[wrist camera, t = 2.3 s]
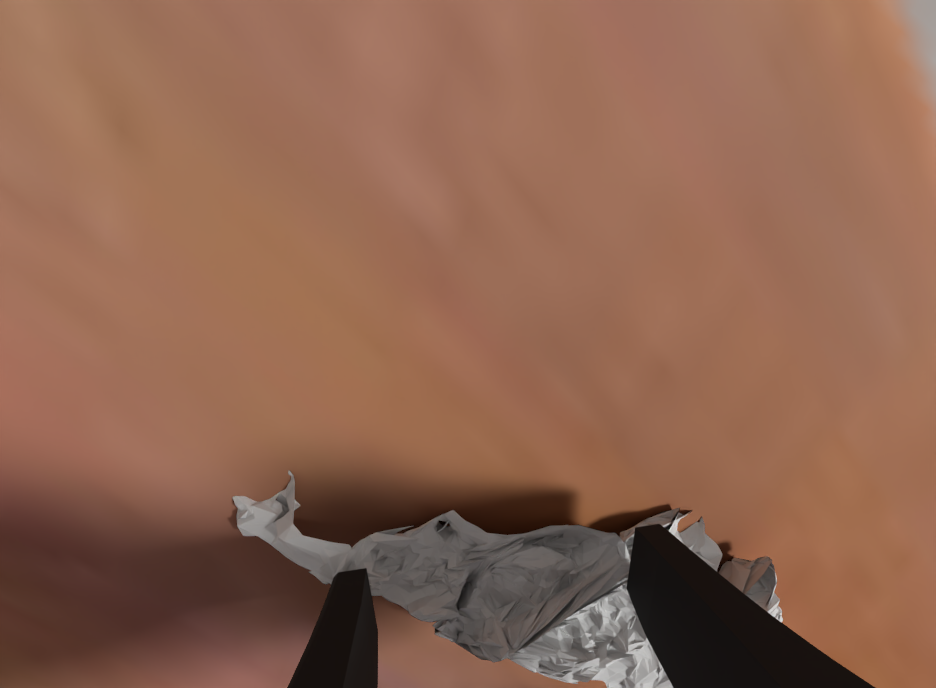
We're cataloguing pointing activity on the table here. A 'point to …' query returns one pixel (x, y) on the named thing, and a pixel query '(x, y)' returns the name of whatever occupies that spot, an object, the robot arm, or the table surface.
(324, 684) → the robot arm
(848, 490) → the table surface
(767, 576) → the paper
